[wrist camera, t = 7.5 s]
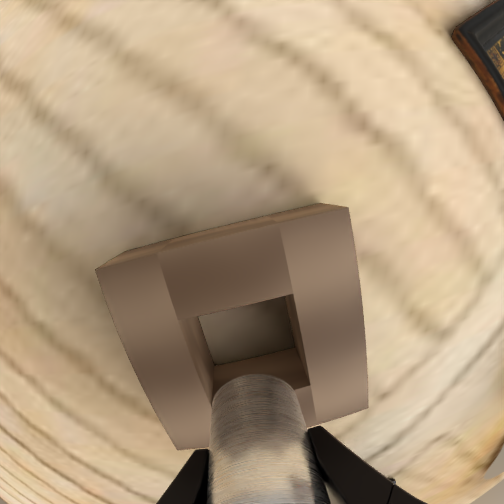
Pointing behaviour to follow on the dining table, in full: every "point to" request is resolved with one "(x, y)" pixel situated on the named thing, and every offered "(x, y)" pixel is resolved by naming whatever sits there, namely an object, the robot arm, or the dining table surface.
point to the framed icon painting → (485, 48)
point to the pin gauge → (261, 446)
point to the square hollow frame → (236, 295)
